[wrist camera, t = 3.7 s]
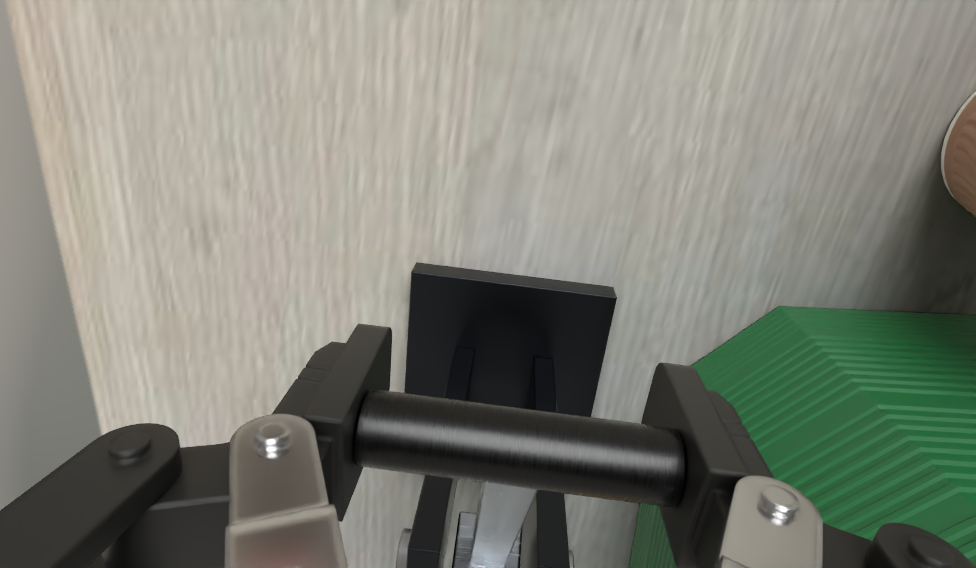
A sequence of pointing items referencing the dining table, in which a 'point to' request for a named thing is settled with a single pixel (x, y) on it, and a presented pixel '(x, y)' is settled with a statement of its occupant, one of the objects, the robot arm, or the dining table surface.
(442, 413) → the lever
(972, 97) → the coffee cup
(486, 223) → the dining table surface
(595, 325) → the black upright frame
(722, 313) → the dining table surface
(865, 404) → the planter
